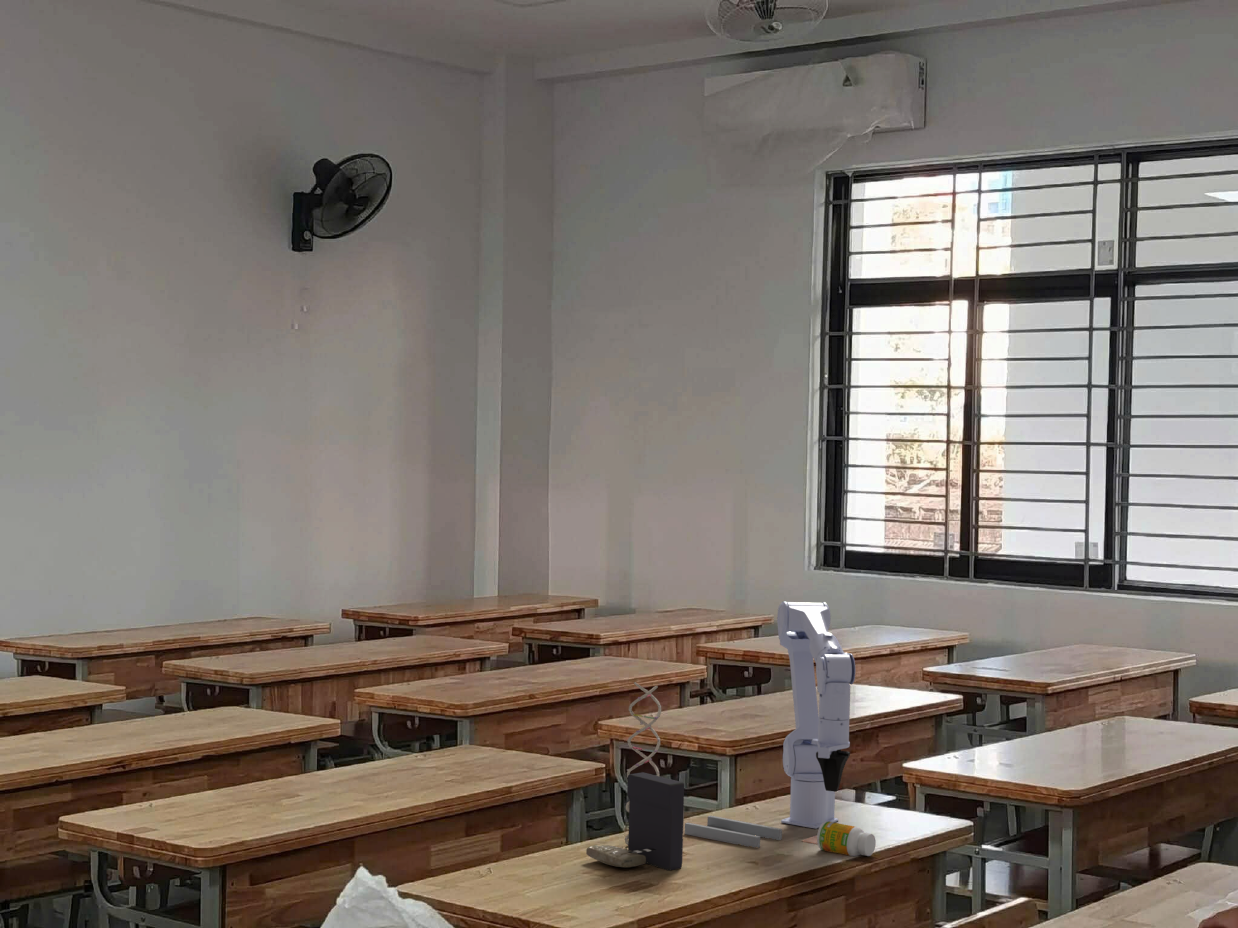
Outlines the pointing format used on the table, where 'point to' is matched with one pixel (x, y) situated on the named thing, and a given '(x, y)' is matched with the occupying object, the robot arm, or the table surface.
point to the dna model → (647, 726)
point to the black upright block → (656, 819)
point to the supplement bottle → (845, 839)
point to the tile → (811, 840)
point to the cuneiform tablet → (617, 855)
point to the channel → (733, 831)
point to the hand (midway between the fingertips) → (831, 790)
